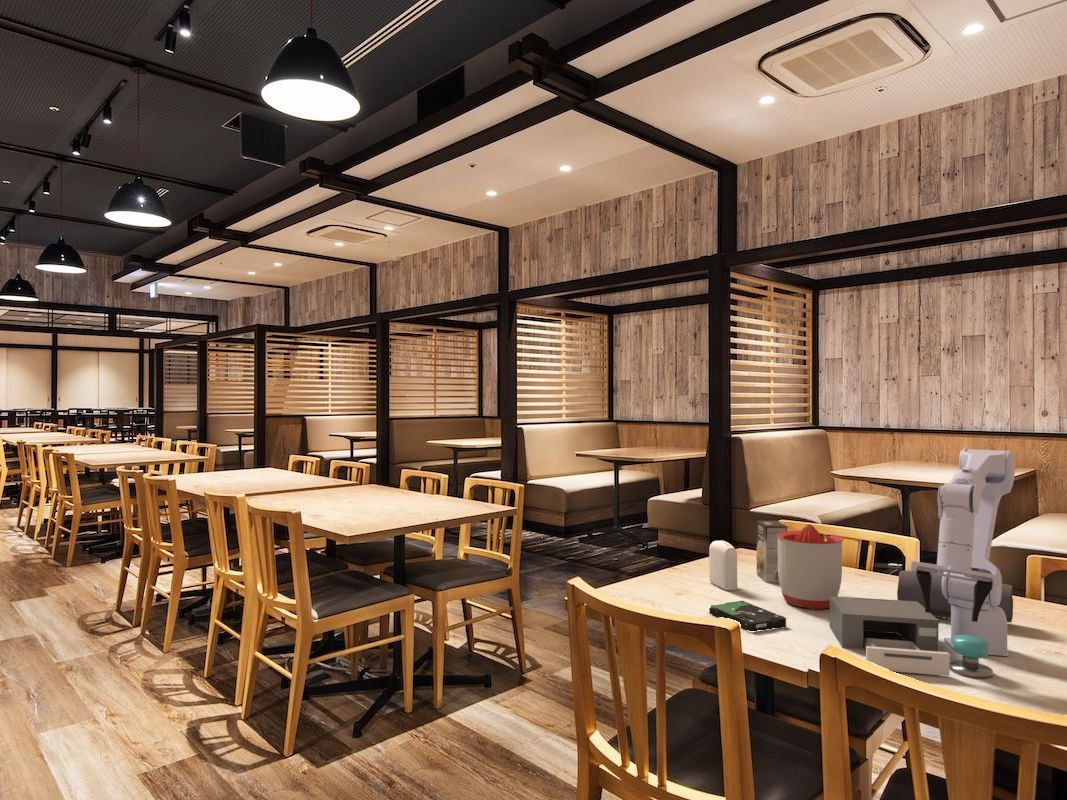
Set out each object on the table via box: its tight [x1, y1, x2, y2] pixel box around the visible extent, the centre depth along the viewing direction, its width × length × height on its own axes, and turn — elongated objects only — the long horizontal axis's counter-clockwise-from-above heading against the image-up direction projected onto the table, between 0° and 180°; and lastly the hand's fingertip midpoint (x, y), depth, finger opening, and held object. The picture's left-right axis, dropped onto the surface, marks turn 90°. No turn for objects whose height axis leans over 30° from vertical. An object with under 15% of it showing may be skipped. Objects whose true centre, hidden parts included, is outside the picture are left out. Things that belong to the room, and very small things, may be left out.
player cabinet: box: [829, 596, 940, 652], centre depth 148 cm, size 18×14×7 cm
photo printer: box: [708, 540, 738, 591], centre depth 191 cm, size 10×4×12 cm, turn 13°
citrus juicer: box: [777, 523, 844, 611], centre depth 176 cm, size 16×17×20 cm
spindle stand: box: [949, 655, 994, 680], centre depth 131 cm, size 7×7×4 cm
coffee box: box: [756, 520, 788, 583], centre depth 200 cm, size 9×6×16 cm
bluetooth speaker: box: [896, 570, 1014, 623], centre depth 164 cm, size 23×9×10 cm, turn 53°
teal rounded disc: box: [953, 635, 989, 659], centre depth 131 cm, size 6×6×2 cm
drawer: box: [863, 637, 950, 677], centre depth 137 cm, size 14×16×4 cm
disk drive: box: [709, 600, 787, 631], centre depth 161 cm, size 10×3×15 cm
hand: (950, 617), depth 132 cm, fingers open, 7 cm apart
